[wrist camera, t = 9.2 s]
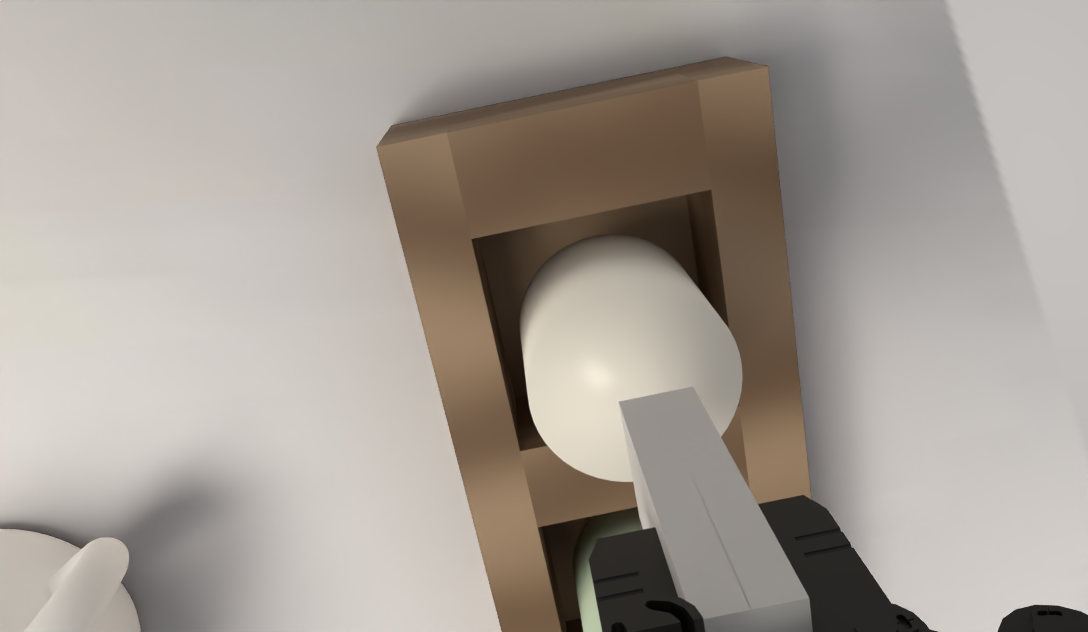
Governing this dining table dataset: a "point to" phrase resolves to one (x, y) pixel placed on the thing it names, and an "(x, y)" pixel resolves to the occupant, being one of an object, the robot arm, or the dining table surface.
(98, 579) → the mug
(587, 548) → the pale green rounded piece
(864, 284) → the dining table surface
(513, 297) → the wooden compartment tray
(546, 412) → the white short cylinder
